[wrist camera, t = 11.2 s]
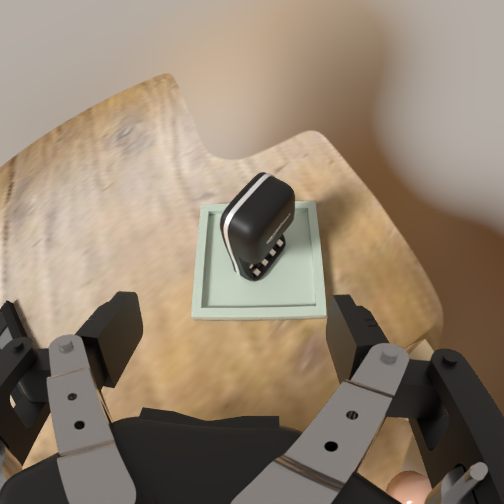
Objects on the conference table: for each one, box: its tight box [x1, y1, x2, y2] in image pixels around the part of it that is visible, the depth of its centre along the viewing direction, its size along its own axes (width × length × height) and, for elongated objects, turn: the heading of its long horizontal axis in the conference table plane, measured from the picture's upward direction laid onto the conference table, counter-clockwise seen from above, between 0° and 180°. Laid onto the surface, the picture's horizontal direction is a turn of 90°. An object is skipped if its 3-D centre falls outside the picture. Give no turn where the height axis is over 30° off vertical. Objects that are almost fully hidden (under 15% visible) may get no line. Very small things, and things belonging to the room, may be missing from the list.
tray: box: [191, 201, 327, 321], centre depth 34 cm, size 14×14×2 cm
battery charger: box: [220, 172, 295, 282], centre depth 29 cm, size 7×4×11 cm, turn 143°
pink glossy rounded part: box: [386, 471, 432, 504], centre depth 19 cm, size 4×4×5 cm
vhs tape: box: [0, 301, 28, 404], centre depth 31 cm, size 8×14×2 cm, turn 48°
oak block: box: [399, 339, 434, 421], centre depth 26 cm, size 6×6×4 cm
